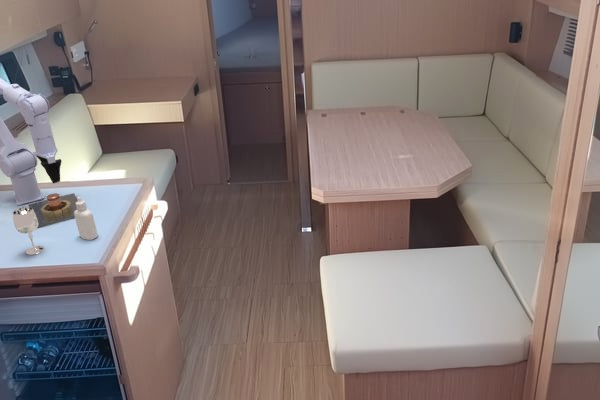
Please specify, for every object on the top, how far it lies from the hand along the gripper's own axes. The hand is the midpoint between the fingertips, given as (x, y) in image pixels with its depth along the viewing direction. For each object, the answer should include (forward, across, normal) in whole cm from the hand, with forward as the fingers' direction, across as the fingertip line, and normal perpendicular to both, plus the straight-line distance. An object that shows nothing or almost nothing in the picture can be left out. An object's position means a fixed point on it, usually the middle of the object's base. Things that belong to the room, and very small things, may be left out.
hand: (54, 178), depth 172 cm
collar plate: (+9, +3, -2) cm, 10 cm away
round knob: (+8, +5, -2) cm, 10 cm away
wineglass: (+10, +26, -12) cm, 30 cm away
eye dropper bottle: (+10, +27, +2) cm, 29 cm away
